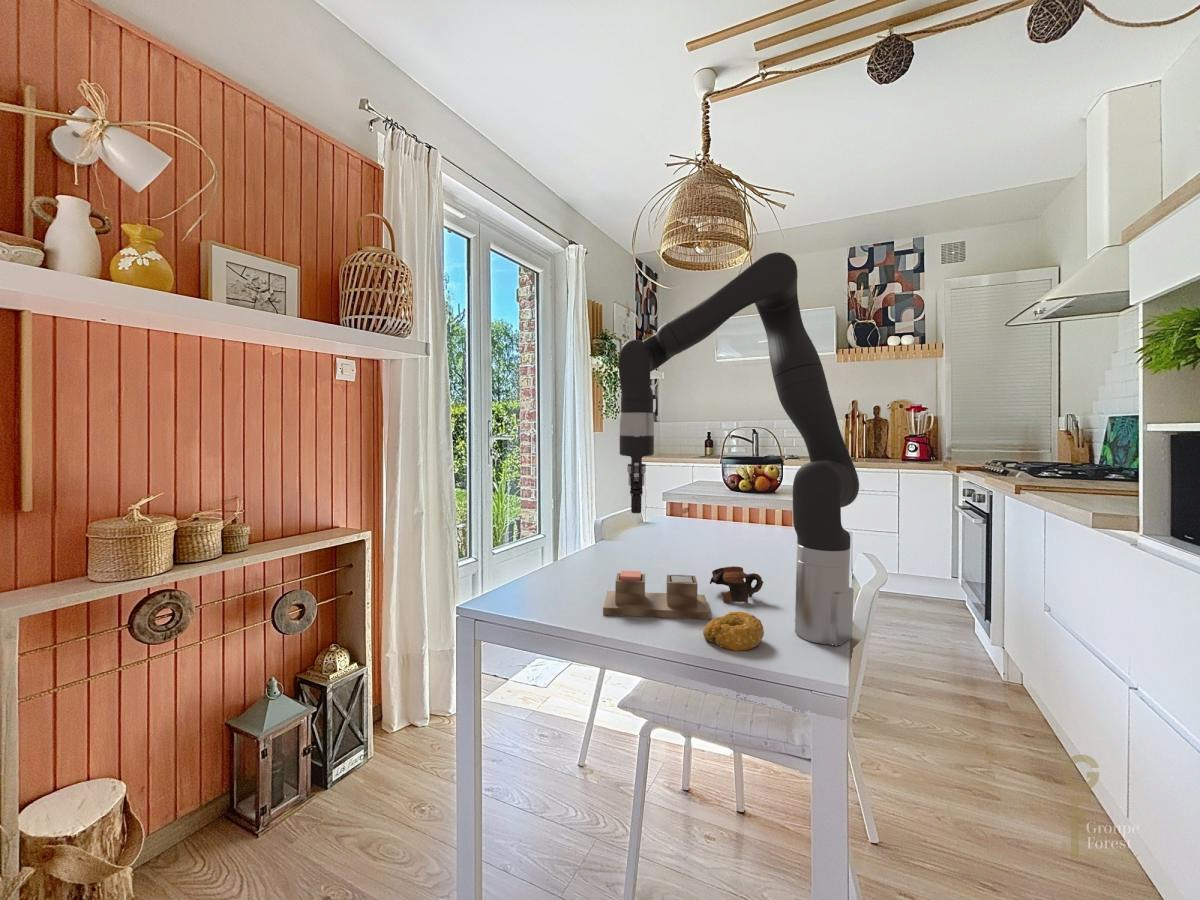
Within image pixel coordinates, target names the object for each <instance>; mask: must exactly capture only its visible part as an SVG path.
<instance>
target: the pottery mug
mask: <svg viewBox="0 0 1200 900" xmlns="http://www.w3.org/2000/svg"><path fill="white" fill-rule="evenodd" d="M711 575H712V576H711V578H710V581H709V585H712V584H715V585H723V586H726V587H728V589H729V590H728V591H724V592H722V593H721V596H722V600H723V604H724V603H734V602H735V603H748V601H749V598H752V597H753V595H754V594H755V593H758V592H759V591H760V590H761V589H762V588H763V584H764V580H763V578H762V576H761V575H760V574H758V573H755V572H754V573H752V572H751V573H745V571H744V567H742V566H741V567H740V566H733V565H732V566H726V567H725V566H724V567H719V568H716V569H714V570H712V571H711ZM744 580H745V581H744ZM755 580H756V583H755V585H754V586H752V583H753V581H755Z"/></svg>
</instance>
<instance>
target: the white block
mask: <svg viewBox="0 0 1200 900" xmlns="http://www.w3.org/2000/svg"><path fill="white" fill-rule="evenodd" d="M671 582H679V583H693V581H692V578H691V577H689V576H671Z"/></svg>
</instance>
